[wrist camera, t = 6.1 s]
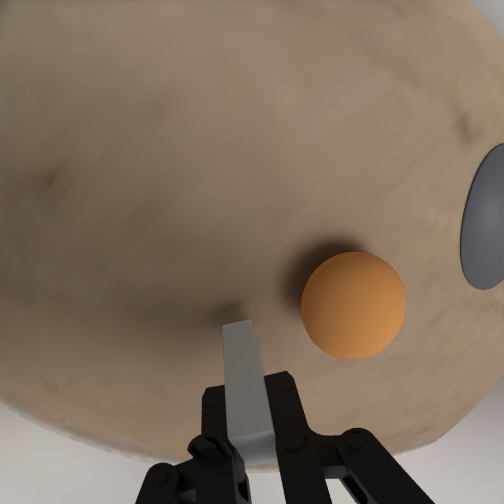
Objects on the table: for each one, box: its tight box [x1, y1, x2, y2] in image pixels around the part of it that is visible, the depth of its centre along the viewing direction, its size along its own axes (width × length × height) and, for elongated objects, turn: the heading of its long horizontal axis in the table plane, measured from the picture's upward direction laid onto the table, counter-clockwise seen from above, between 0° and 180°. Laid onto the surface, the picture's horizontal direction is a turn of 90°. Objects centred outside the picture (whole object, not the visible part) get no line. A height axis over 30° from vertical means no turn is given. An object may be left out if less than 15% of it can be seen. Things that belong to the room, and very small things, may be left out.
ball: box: [301, 252, 406, 359], centre depth 14 cm, size 6×6×6 cm
